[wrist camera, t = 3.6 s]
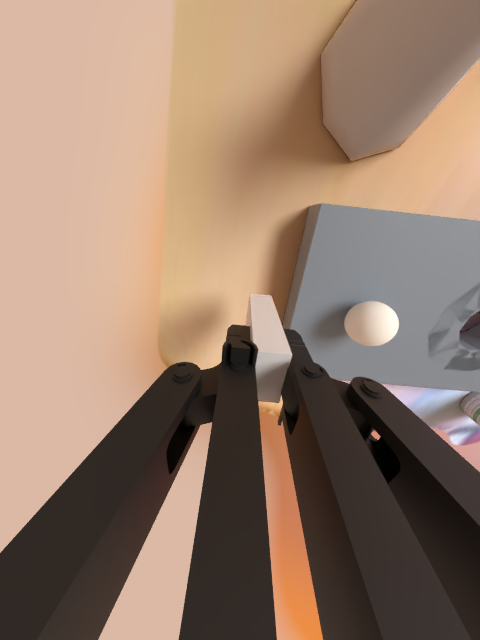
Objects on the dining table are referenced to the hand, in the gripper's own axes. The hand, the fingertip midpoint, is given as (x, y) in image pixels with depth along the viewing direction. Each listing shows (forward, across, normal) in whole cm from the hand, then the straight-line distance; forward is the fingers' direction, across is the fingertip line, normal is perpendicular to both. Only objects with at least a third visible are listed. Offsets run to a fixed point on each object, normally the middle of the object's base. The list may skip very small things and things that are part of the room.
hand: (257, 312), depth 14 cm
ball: (0, +8, 0) cm, 8 cm away
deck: (+4, +14, 0) cm, 15 cm away
